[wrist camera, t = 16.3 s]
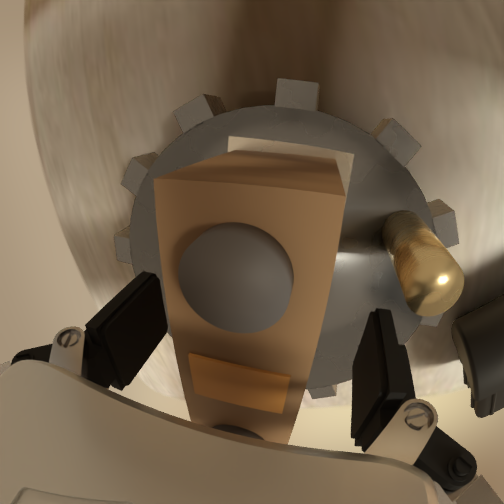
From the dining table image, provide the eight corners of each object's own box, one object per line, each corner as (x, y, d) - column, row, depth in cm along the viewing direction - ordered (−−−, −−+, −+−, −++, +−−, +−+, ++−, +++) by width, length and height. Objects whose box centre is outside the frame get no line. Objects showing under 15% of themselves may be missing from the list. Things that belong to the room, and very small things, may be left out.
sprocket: (478, 134, 10) (562, 153, 4) (379, 392, 18) (380, 468, 12) (133, 86, 13) (40, 85, 7) (149, 340, 21) (105, 398, 15)
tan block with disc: (335, 159, 10) (348, 204, 5) (299, 375, 16) (277, 475, 10) (235, 150, 11) (138, 185, 5) (233, 362, 16) (193, 454, 11)
